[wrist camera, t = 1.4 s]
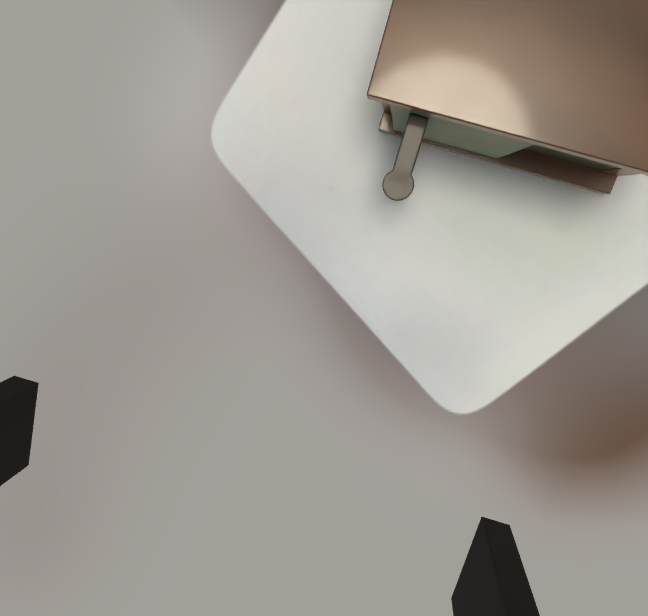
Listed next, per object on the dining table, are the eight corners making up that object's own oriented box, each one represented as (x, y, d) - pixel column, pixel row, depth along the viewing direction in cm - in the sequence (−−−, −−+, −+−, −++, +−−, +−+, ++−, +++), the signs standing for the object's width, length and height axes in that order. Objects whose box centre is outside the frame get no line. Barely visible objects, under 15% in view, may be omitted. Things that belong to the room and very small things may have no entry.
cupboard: (604, 194, 36) (728, 194, 22) (378, 131, 37) (366, 94, 24) (666, 39, 33) (848, -67, 20) (423, -23, 35) (437, -162, 21)
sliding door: (475, 221, 36) (507, 233, 25) (374, 192, 37) (363, 191, 26) (500, 149, 35) (545, 129, 24) (395, 120, 35) (393, 88, 25)
